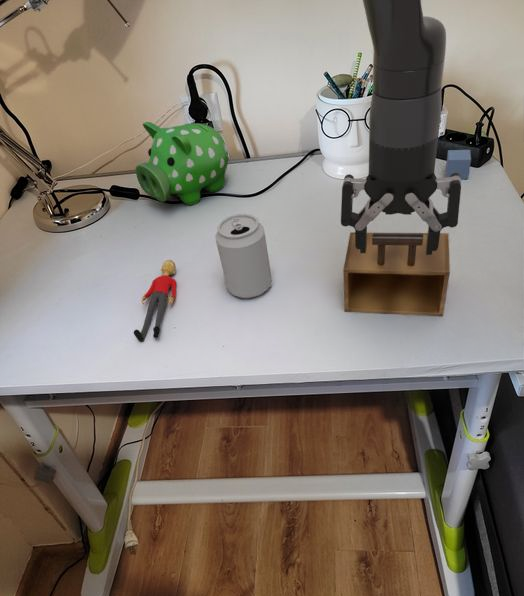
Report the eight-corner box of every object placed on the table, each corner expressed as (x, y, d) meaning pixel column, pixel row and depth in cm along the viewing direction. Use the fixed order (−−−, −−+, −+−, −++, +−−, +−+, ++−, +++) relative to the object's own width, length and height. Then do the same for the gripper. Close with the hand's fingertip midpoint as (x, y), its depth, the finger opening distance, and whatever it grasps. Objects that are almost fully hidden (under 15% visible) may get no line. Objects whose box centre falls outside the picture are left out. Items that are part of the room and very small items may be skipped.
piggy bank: (140, 201, 109) (116, 132, 98) (206, 167, 116) (191, 98, 105) (178, 223, 100) (156, 150, 90) (246, 184, 107) (234, 112, 97)
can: (233, 306, 80) (218, 243, 72) (223, 279, 86) (208, 217, 77) (278, 293, 81) (268, 229, 73) (265, 267, 86) (255, 205, 78)
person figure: (128, 321, 75) (156, 249, 87) (128, 339, 78) (155, 267, 90) (162, 328, 75) (185, 254, 87) (161, 345, 78) (184, 272, 90)
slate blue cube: (466, 169, 100) (470, 149, 97) (467, 179, 97) (471, 159, 94) (445, 169, 100) (447, 150, 98) (445, 179, 98) (448, 160, 95)
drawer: (442, 277, 78) (453, 203, 69) (442, 316, 73) (454, 241, 63) (350, 274, 82) (349, 203, 73) (344, 311, 76) (342, 239, 67)
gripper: (335, 147, 56) (339, 266, 67) (474, 143, 52) (452, 269, 64) (343, 118, 61) (345, 234, 72) (470, 112, 57) (451, 235, 69)
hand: (395, 250), depth 68 cm, fingers open, 8 cm apart
